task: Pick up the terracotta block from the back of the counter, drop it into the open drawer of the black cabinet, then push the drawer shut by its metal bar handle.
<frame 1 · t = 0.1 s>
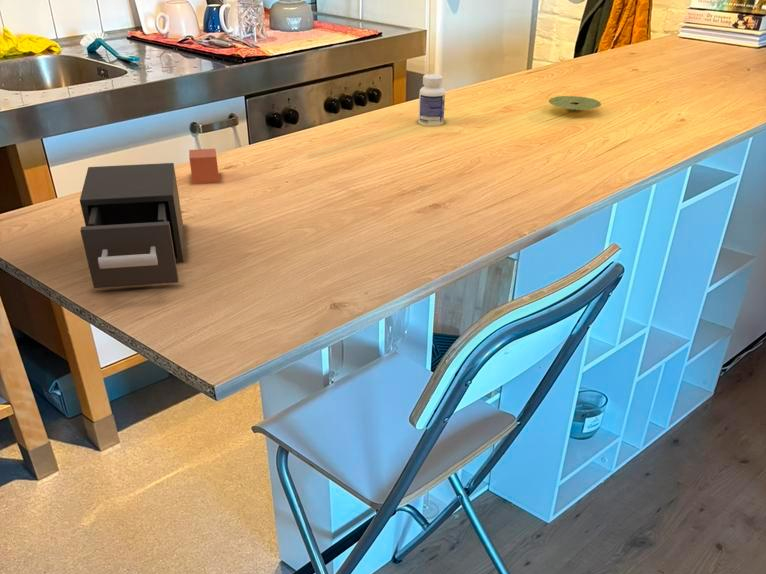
pill bottle: (430, 124, 169), on the breakfast bar
drawer: (132, 244, 108), point 5 cm above the breakfast bar, slide at 7.0 cm
block: (206, 180, 141), on the breakfast bar
grey green disc: (573, 112, 177), on the breakfast bar
cabinet: (141, 247, 119), on the breakfast bar
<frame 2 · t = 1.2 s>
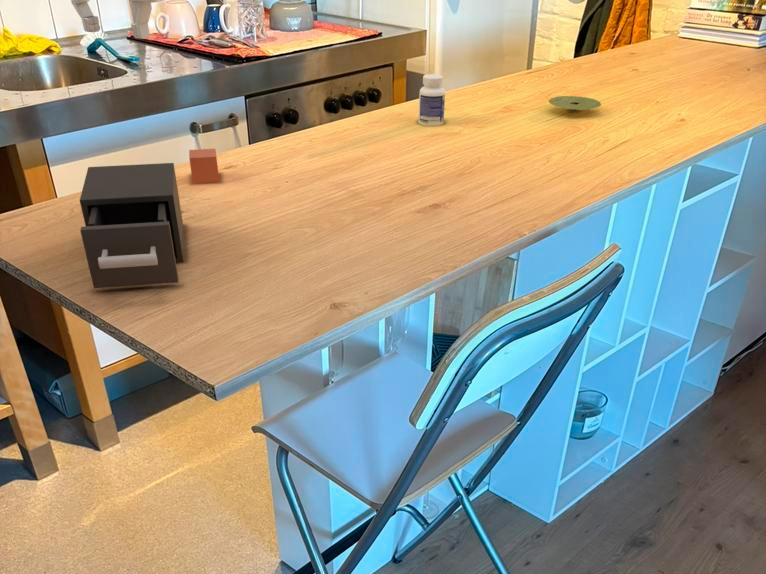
hand: (116, 34, 114), 25 cm above the breakfast bar, tool pointing down, fingers open, 8 cm apart
nothing on the breakfast bar moved.
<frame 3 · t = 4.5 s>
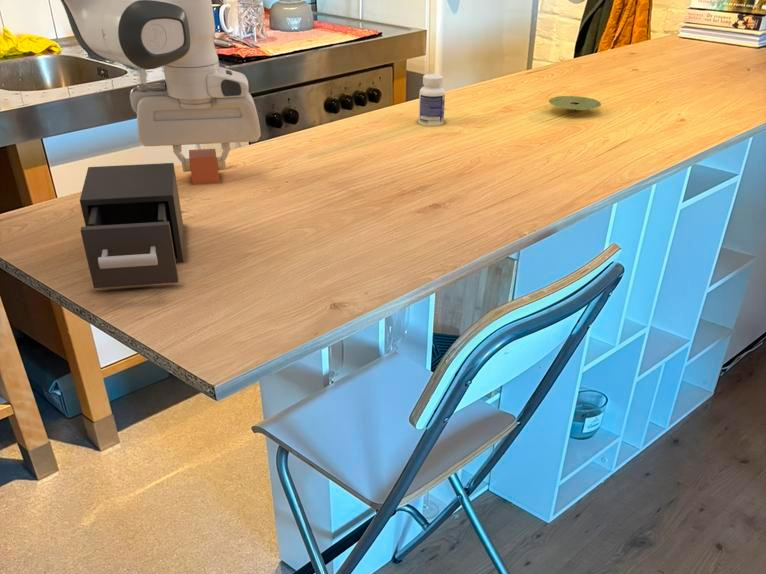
hand: (204, 170, 140), 2 cm above the breakfast bar, tool pointing down, fingers closed on block, 4 cm apart
block: (205, 180, 141), on the breakfast bar, touching gripper
everything else where it was.
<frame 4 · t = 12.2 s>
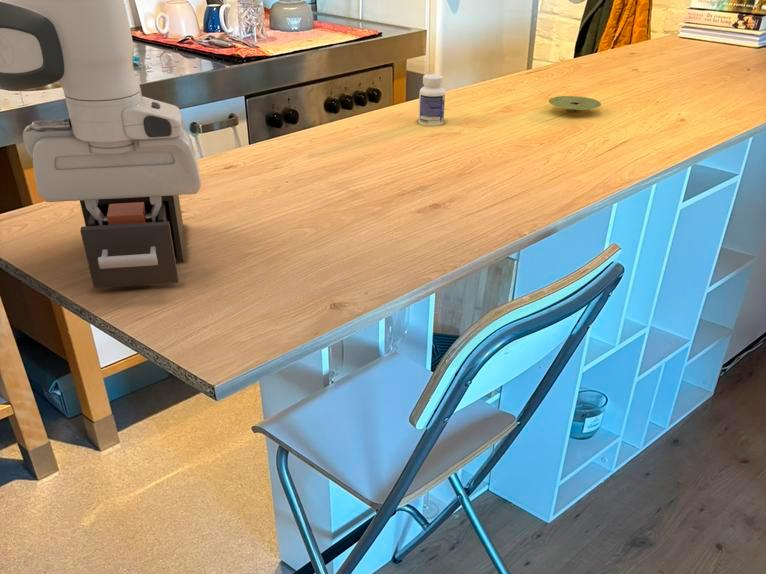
hand: (130, 230, 107), 6 cm above the breakfast bar, tool pointing down, fingers closed on block, 4 cm apart
block: (132, 242, 109), point 5 cm above the breakfast bar, touching gripper
everything else where it was.
when the fingers open (9 cm above the breakfast bar, at t = 25.6 s): block drops 5 cm, resting on drawer.
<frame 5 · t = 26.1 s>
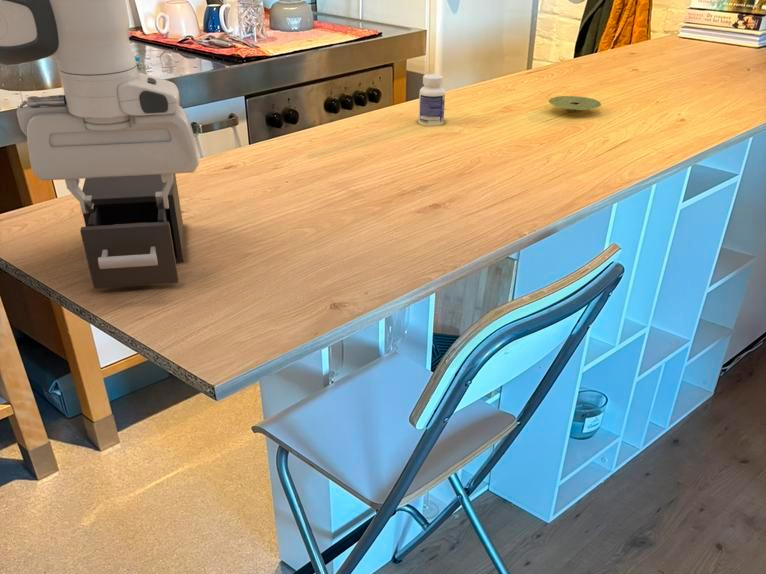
hand: (126, 209, 106), 9 cm above the breakfast bar, tool pointing down, fingers open, 8 cm apart
drawer: (132, 244, 108), point 5 cm above the breakfast bar, slide at 7.1 cm, touching block
block: (135, 262, 110), point 2 cm above the breakfast bar, touching drawer
everything else where it was.
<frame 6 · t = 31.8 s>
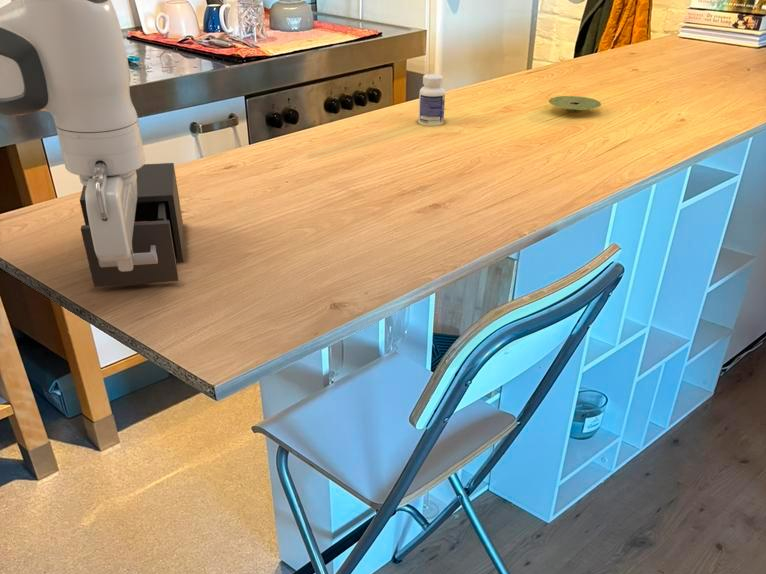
hand: (127, 266, 100), 6 cm above the breakfast bar, tool pointing down, fingers closed
drawer: (132, 243, 108), point 5 cm above the breakfast bar, slide at 6.6 cm, touching block, gripper
everything else where it was.
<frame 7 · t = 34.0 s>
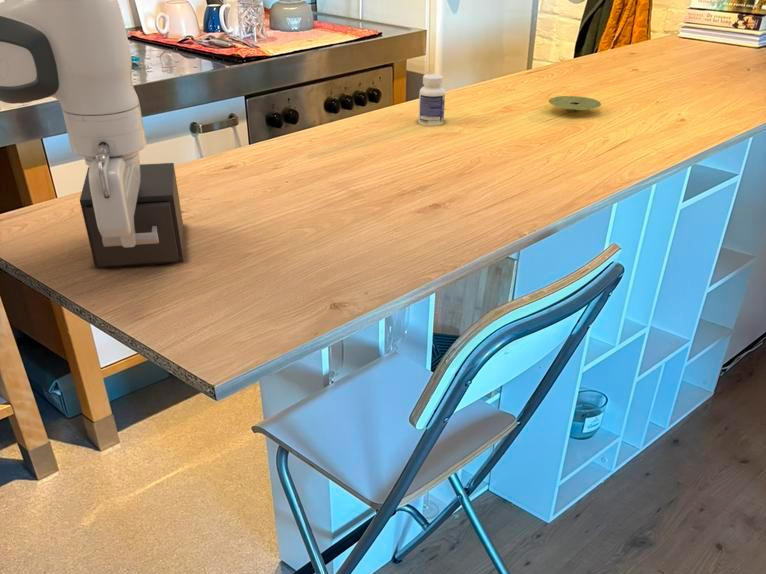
hand: (129, 244, 106), 6 cm above the breakfast bar, tool pointing down, fingers closed, pressing on drawer
drawer: (134, 224, 113), point 5 cm above the breakfast bar, slide at 0.0 cm, touching block, cabinet, gripper
block: (137, 241, 116), point 2 cm above the breakfast bar, touching drawer
everything else where it was.
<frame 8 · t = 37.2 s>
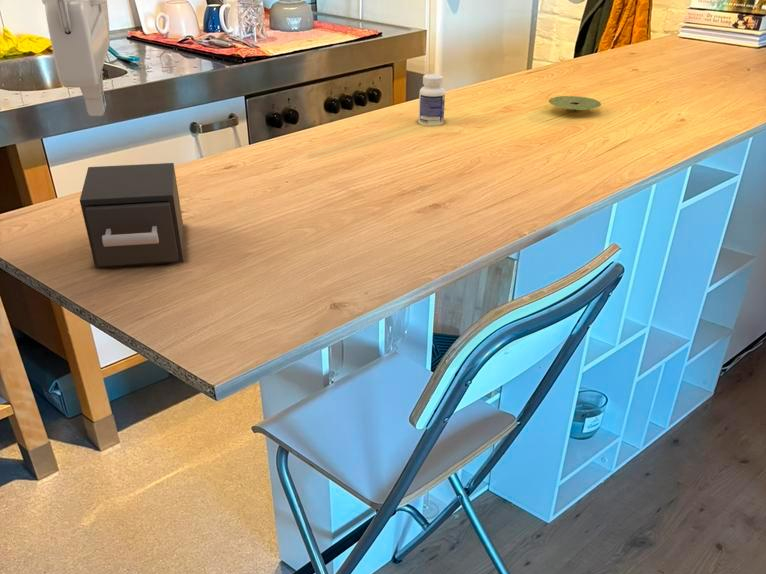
hand: (97, 112, 90), 23 cm above the breakfast bar, tool pointing down, fingers closed
drawer: (134, 224, 113), point 5 cm above the breakfast bar, slide at 0.0 cm, touching block, cabinet
everything else where it was.
at the end: block inside the target area in the cabinet (2.8 cm from its centre), point 2.0 cm above the cabinet's base; drawer slide at 0.0 cm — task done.
